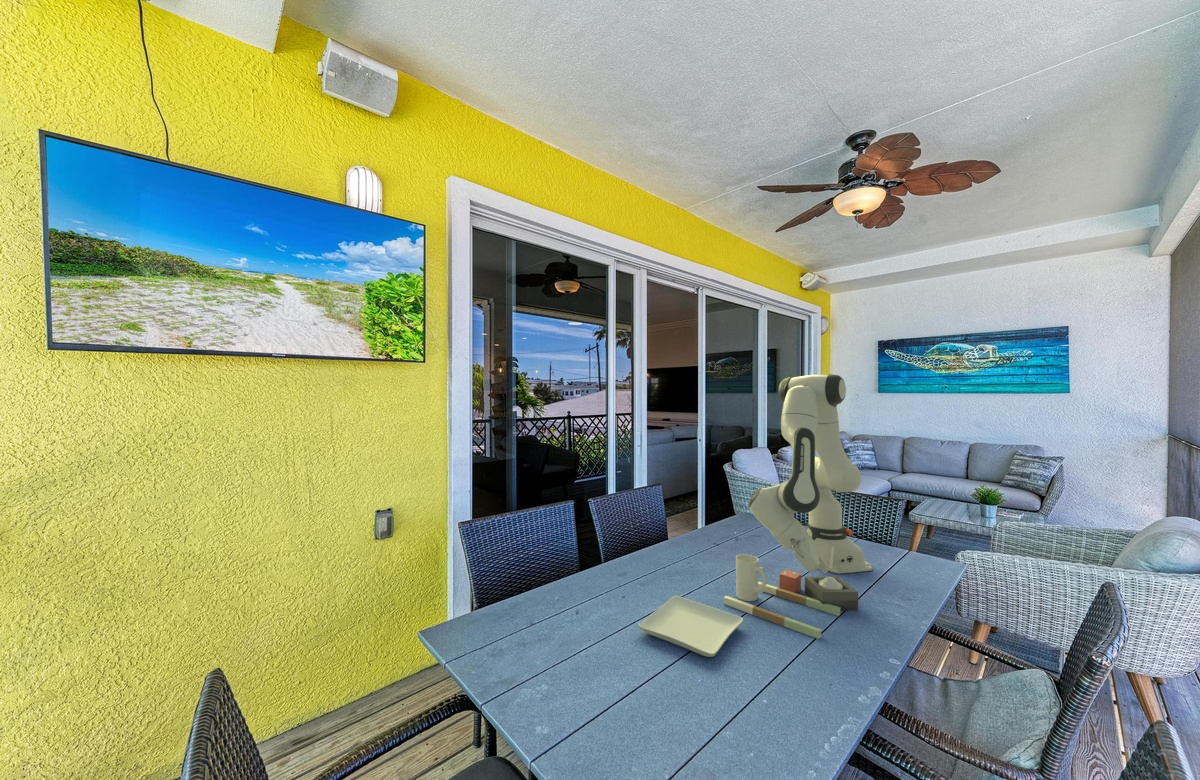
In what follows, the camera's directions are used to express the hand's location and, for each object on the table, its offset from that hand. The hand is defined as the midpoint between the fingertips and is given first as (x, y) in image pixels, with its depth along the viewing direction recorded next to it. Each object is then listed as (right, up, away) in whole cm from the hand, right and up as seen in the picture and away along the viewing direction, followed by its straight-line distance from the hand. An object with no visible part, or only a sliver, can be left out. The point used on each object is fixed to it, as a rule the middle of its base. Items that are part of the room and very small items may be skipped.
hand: (826, 571), depth 137 cm
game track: (-16, -9, -5) cm, 19 cm away
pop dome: (+1, -6, -1) cm, 6 cm away
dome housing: (+1, -9, -1) cm, 9 cm away
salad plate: (-45, -9, -18) cm, 49 cm away
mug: (-23, -9, +1) cm, 24 cm away
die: (-8, -9, +8) cm, 14 cm away
